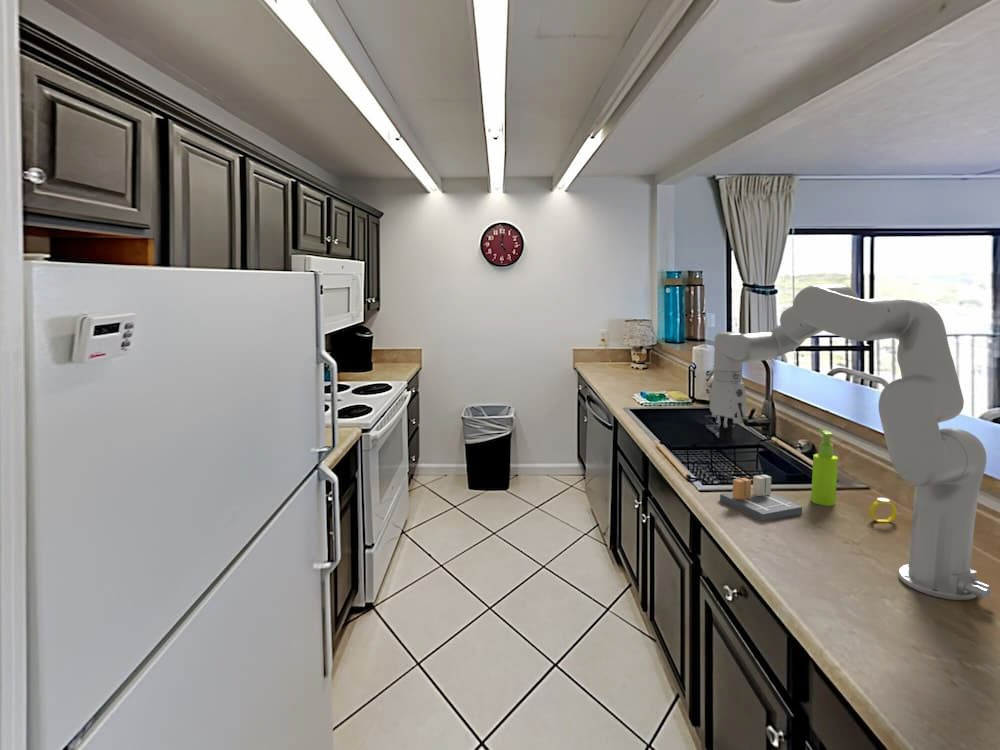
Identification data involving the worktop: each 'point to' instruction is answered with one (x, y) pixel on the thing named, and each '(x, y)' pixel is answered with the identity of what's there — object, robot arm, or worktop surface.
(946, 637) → the worktop surface
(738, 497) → the fader orange
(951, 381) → the robot arm
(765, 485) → the fader ivory
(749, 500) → the mixer panel
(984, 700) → the worktop surface
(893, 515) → the watch
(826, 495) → the soap dispenser
